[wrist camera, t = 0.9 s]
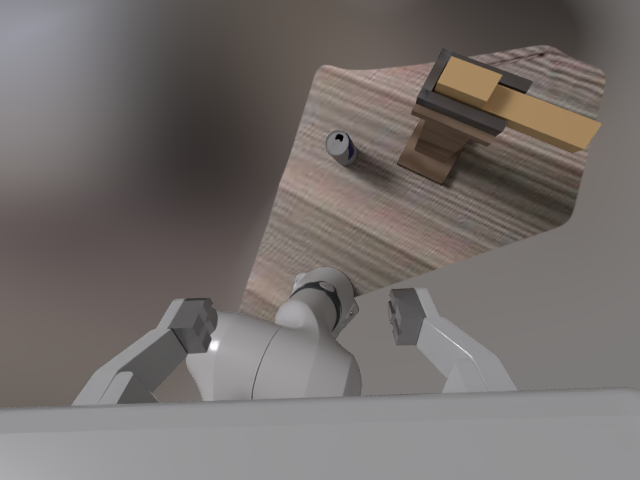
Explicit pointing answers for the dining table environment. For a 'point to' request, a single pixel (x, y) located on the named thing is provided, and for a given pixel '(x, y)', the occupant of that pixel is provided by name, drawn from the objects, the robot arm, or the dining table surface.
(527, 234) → the dining table surface
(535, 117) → the wooden stick
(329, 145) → the energy drink
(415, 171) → the holder stand
